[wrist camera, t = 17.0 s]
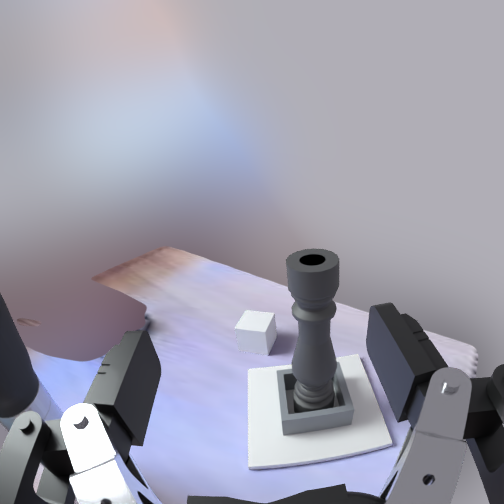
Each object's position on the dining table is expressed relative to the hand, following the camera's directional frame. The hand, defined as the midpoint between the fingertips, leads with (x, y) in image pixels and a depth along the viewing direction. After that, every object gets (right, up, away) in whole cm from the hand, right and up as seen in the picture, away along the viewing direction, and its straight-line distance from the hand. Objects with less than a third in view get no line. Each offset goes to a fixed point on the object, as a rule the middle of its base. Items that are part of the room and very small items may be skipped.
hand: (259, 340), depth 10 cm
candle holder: (+9, -21, +32) cm, 39 cm away
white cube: (+1, -15, +49) cm, 51 cm away
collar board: (+9, -21, +32) cm, 40 cm away
